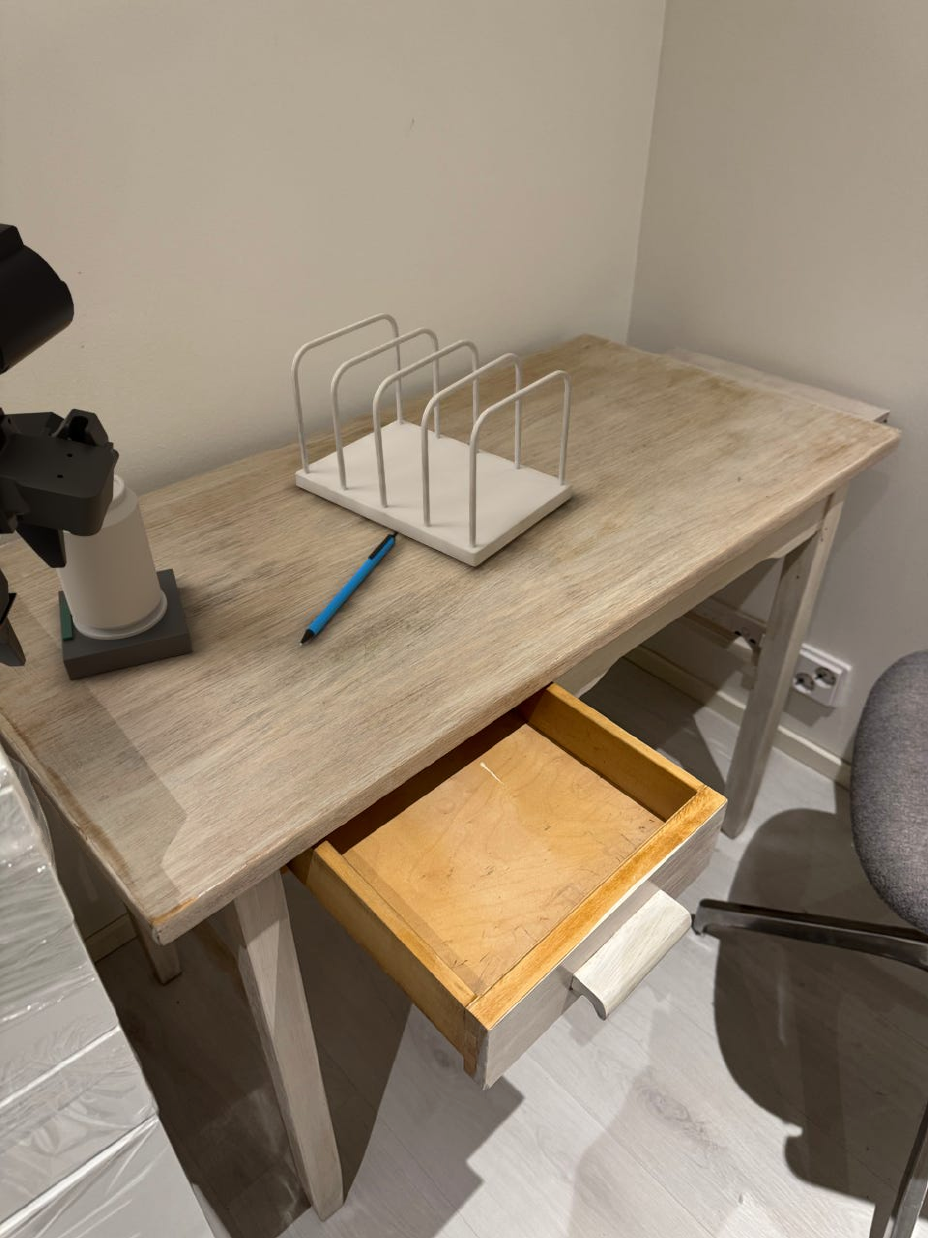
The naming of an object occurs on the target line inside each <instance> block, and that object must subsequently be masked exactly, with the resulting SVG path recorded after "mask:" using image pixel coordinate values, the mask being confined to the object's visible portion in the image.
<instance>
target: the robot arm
mask: <svg viewBox="0 0 928 1238" xmlns="http://www.w3.org/2000/svg"><path fill="white" fill-rule="evenodd" d="M74 317H75V304H74V299H73V296H72V292H71V290H70V288H69V286H68V284H67V282H65V281H64V280H62V279H61V278H60V276H59V275H58V273H57V272H56V271H55V269H54V268H53V267H52V266H51V264H50V263H49V262H48V261H47V260H45V258H44V257H42V256H41V255H40V254H39V253H38V252H36V251H35V250H34V249H32V248H31V247H29V246H27V245H26V244H25V243H24V241H23V238H22V236H21V233H20V230H19V228H18V227H17V226H15V225H14V224H7V223H1V222H0V376H1V375H3V374H6V373H7V372H8V371H9V370H11V369H12V368H14V367H15V366H16V365H18V364H19V363H20V362H22V361H23V360H24V359H26V358H27V357H29V356H30V355H32V354H33V353H34V352H35V351H36V350H39V348H41V347H42V346H44V345H45V344H46V343H48V342H49V341H51V340H52V339H53V338H55V337H57V335H59V334H60V333H62V332H63V331H64V330H66V329H67V328H68V327H70V325H71V323H73V321H74ZM109 439H110V438H109V434H108V433H107V431H106V429H105V428H104V426H103V424H102V422H101V420H100V418H99V417H98V415H97V414H96V413H95V412H91V411H87V410H83V409H79V408H71V410H70V411H69V412H68V413H67V415H66V416H65V417H63V416H61V415H59V414H58V413H55V412H53V411H40V412H23V413H22V412H21V413H5V412H4V410H3V407H2V406H0V542H1V541H2V540H3V537H4V535H10V534H11V535H12V534H15V532H16V533H17V534H18V536H20V537H21V539H22V540H23V541H24V542H25V543H26V544H27V545H28V546H29V548H30V549H31V550H32V551H33V552H34V553H35V554H36V555H37V557H39V558H40V559H41V560H42V561H43V562H44V563H45V564H46V565H47V566H48V567H50V568H51V569H56V568H64V567H65V566H66V563H67V560H66V551H65V542H64V533H63V530H64V531H68V532H70V533H71V534H72V535H76V536H83V537H86V536H92V535H95V534H97V533H98V532H99V531H100V530H101V528H102V525H103V521H104V518H105V515H106V513H107V510H108V508H109V505H110V503H111V502H112V500H113V489H114V474H115V469H116V466H117V463H118V461H119V458H120V453H119V451H118V450H117V449H115V445H114V442H112V441H109ZM17 596H18V594H17V592H10V591H9V581H8V578H7V577H6V576H5V574H4V573H3V571H2V568H0V664H3V665H4V666H7V667H11V668H12V667H13V668H14V667H24V666H26V663H27V658H26V655H25V652H24V649H23V647H22V644H21V643H20V642H21V641H20V640H19V638H18V636H17V634H16V632H15V629H14V628H13V626H12V623H11V621H10V620H9V618H8V615H9V614H10V612H11V609H12V607H13V606H14V602H15V600H16V598H17Z"/></svg>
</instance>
